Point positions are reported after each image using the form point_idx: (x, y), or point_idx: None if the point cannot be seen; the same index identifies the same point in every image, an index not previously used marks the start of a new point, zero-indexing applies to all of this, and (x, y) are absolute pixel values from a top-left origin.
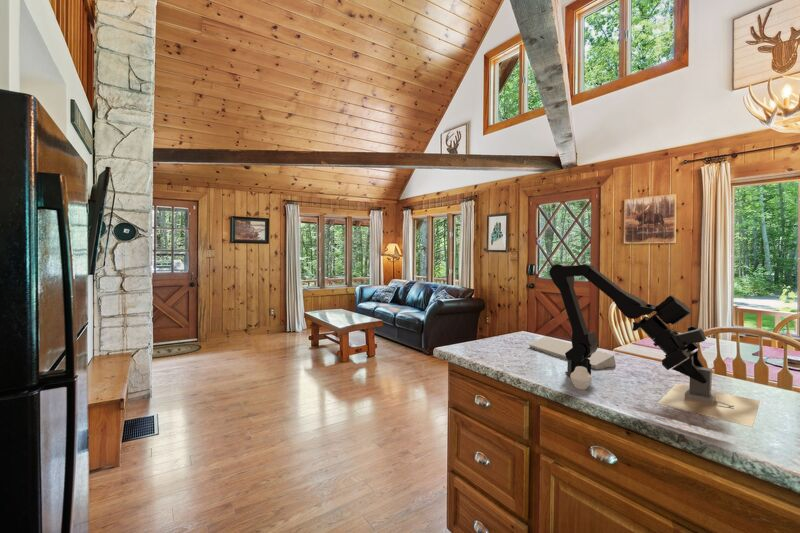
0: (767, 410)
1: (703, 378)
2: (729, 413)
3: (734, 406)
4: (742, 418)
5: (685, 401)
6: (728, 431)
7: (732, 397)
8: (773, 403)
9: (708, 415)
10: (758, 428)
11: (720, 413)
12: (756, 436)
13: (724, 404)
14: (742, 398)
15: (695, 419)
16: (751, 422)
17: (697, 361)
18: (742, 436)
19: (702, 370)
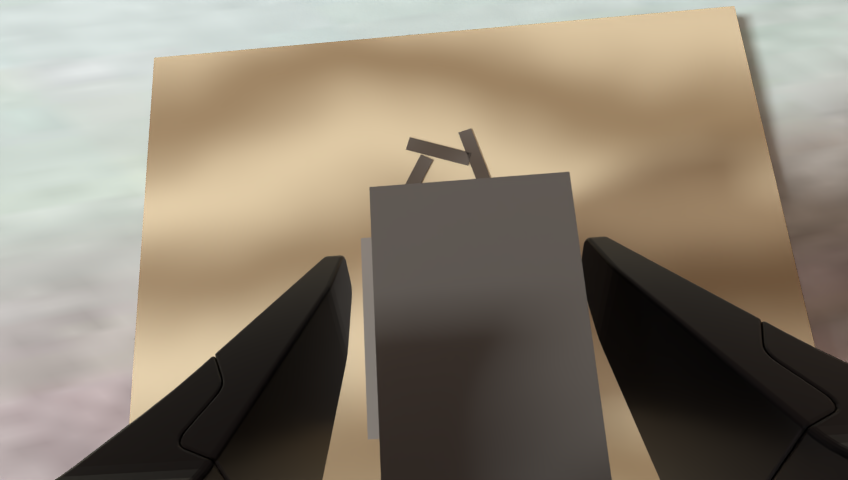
0: (235, 38)
1: (639, 260)
2: (598, 130)
3: (414, 136)
4: (627, 64)
5: None
6: (809, 111)
7: (207, 182)
8: (66, 37)
9: (770, 210)
10: None
11: (651, 167)
12: (745, 10)
13: None
14: (180, 135)
15: None
16: (656, 20)
17: (234, 458)
18: (816, 52)
19: (584, 283)
